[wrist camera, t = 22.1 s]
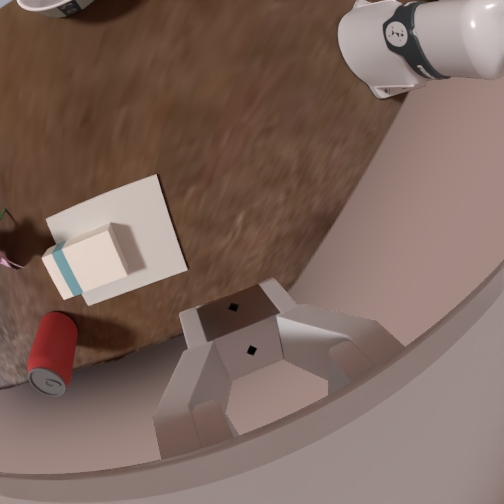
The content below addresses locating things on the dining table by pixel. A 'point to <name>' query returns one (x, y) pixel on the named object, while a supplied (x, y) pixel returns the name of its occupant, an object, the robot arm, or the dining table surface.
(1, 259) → the lily
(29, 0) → the food container
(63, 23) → the dining table surface
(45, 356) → the beer can
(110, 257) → the card box
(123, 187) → the mat
